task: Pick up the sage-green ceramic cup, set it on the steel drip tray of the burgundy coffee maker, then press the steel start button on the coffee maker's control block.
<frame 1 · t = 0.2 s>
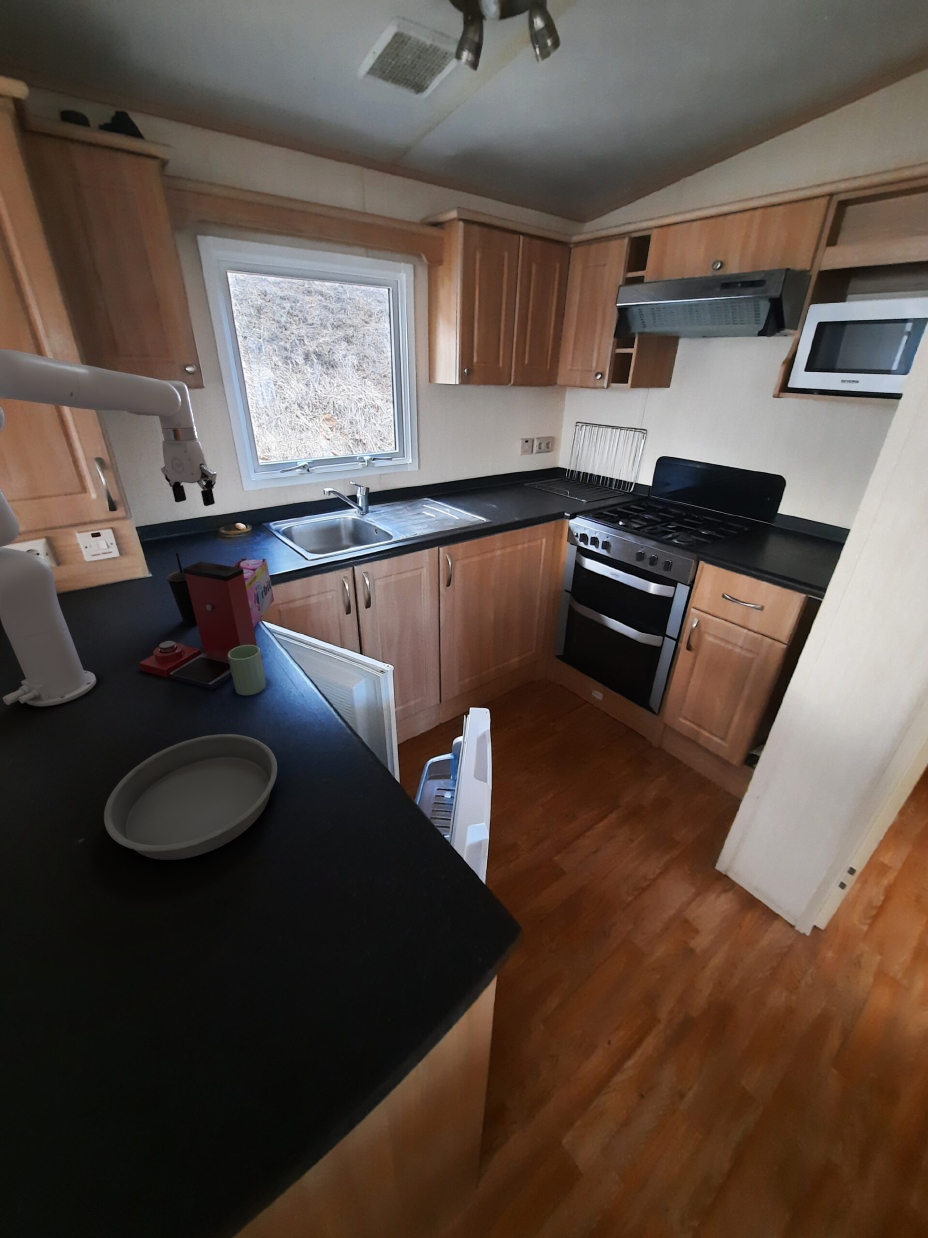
hand: (195, 503, 134), 31 cm above the countertop, tool pointing down, fingers open, 9 cm apart
gum box: (249, 617, 144), on the countertop
drinking cup: (193, 622, 141), on the countertop
button block: (172, 663, 121), on the countertop
coffee maker: (215, 668, 119), on the countertop
cake pan: (201, 805, 82), on the countertop
cup: (251, 687, 112), on the countertop
start button: (167, 647, 119), point 5 cm above the countertop, slide at 0.2 cm
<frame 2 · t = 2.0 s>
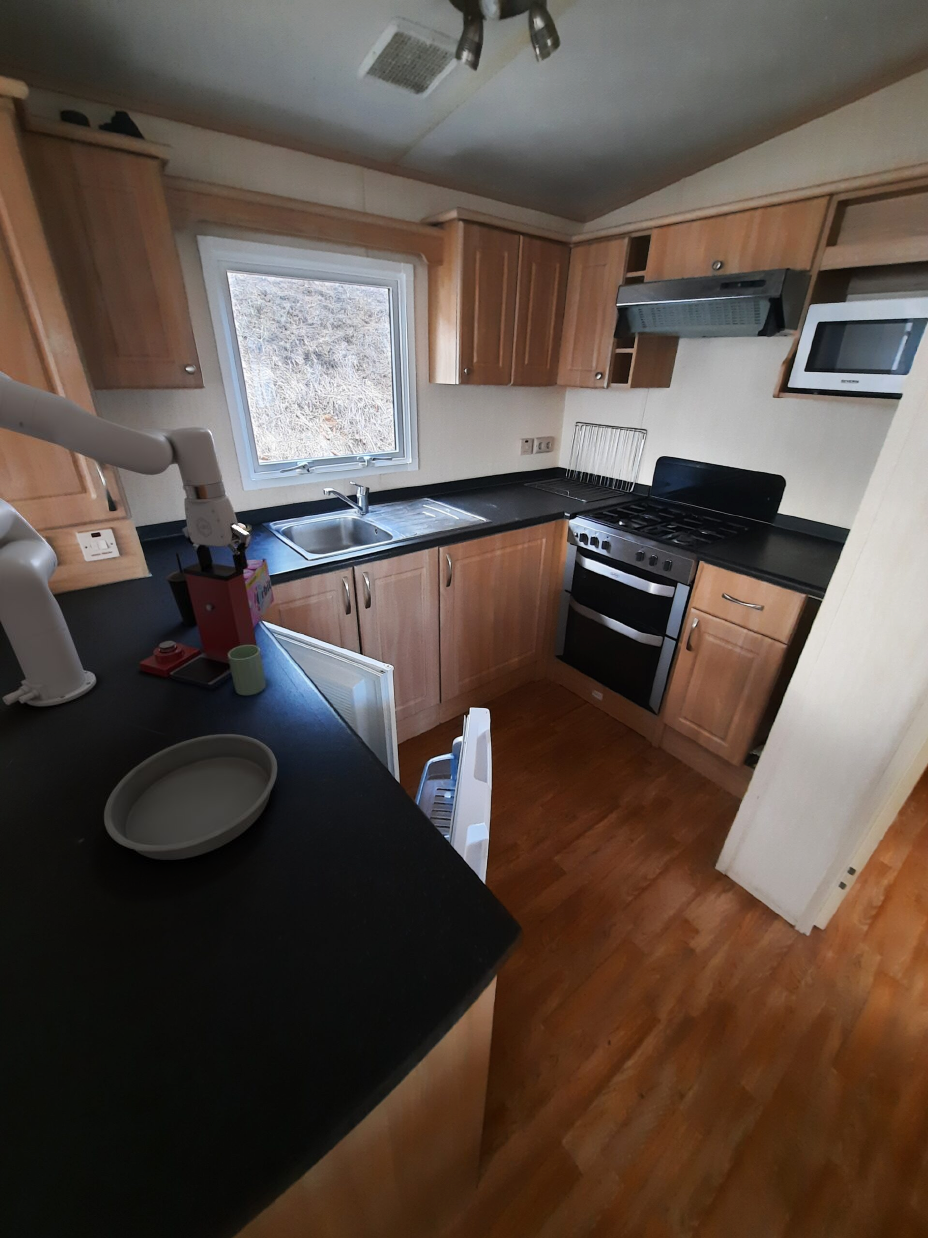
hand: (224, 567, 113), 23 cm above the countertop, tool pointing down, fingers open, 9 cm apart
nothing on the countertop moved.
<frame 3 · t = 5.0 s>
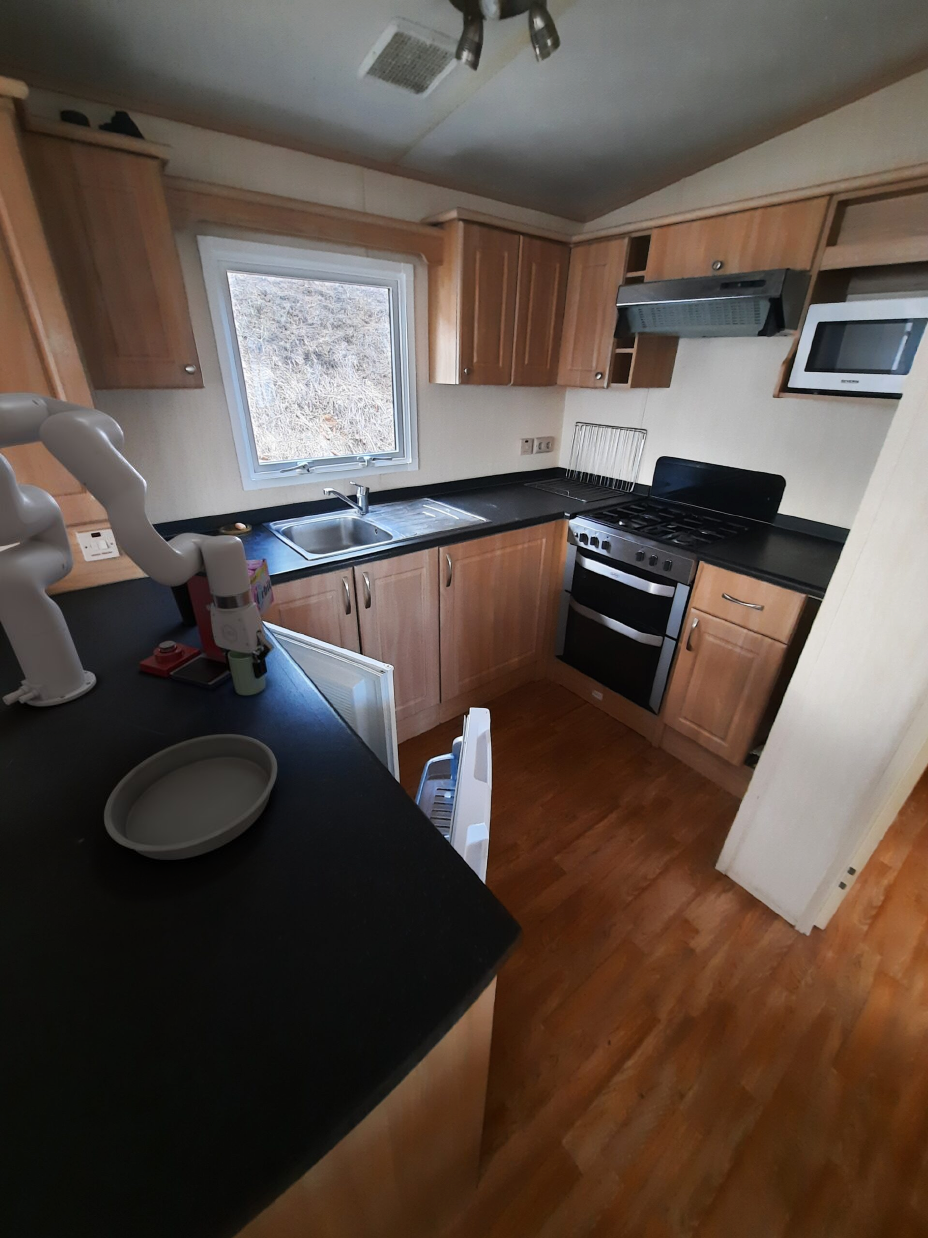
hand: (247, 671, 111), 4 cm above the countertop, tool pointing down, fingers closed on cup, 6 cm apart
cup: (251, 687, 112), on the countertop, touching gripper
everything else where it was.
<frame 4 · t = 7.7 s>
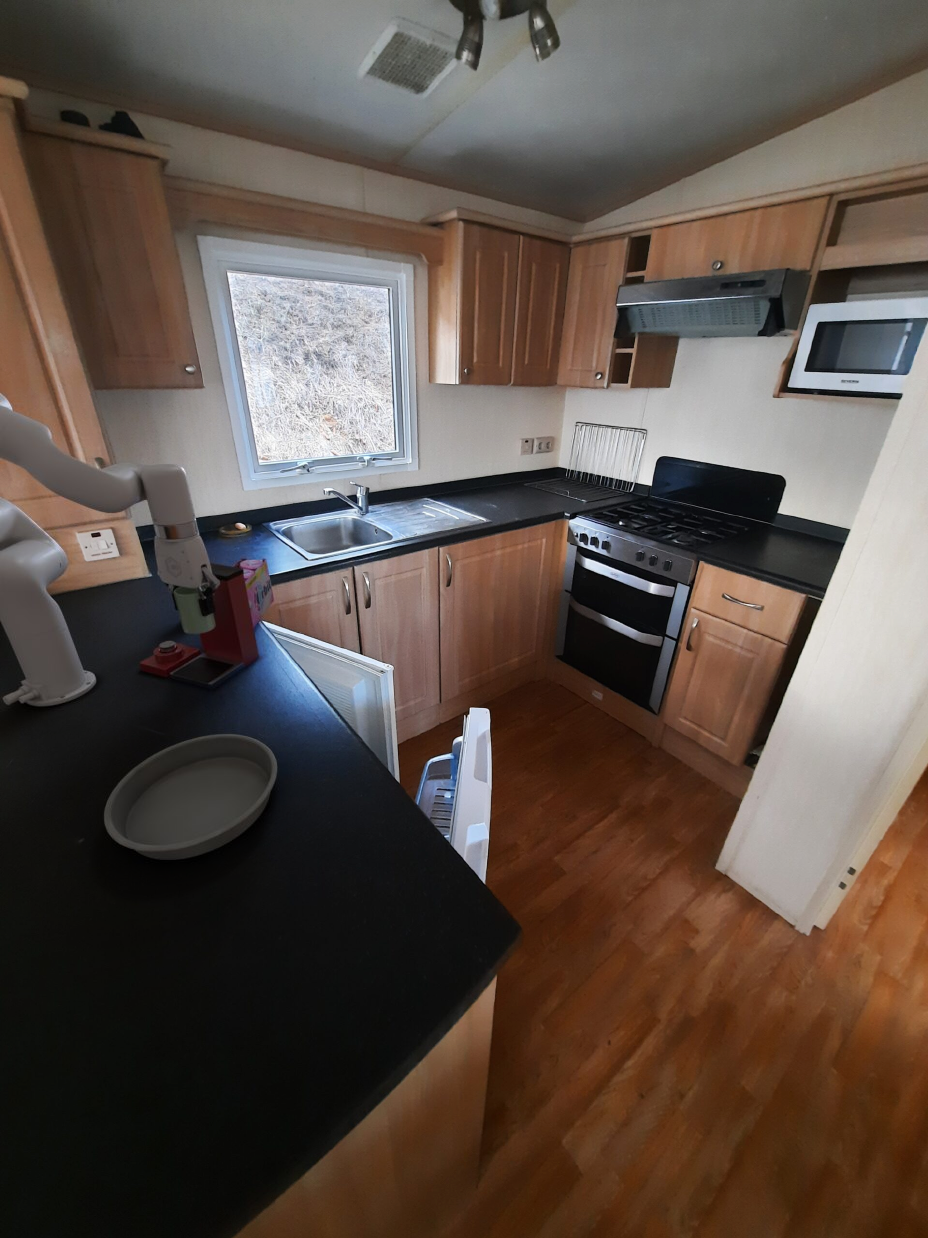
hand: (195, 610, 108), 17 cm above the countertop, tool pointing down, fingers closed on cup, 6 cm apart
cup: (199, 627, 110), point 13 cm above the countertop, touching gripper
everything else where it was.
when the fingers open (6 cm above the countertop, at t = 10.9 s): cup stays where it is, resting on coffee maker.
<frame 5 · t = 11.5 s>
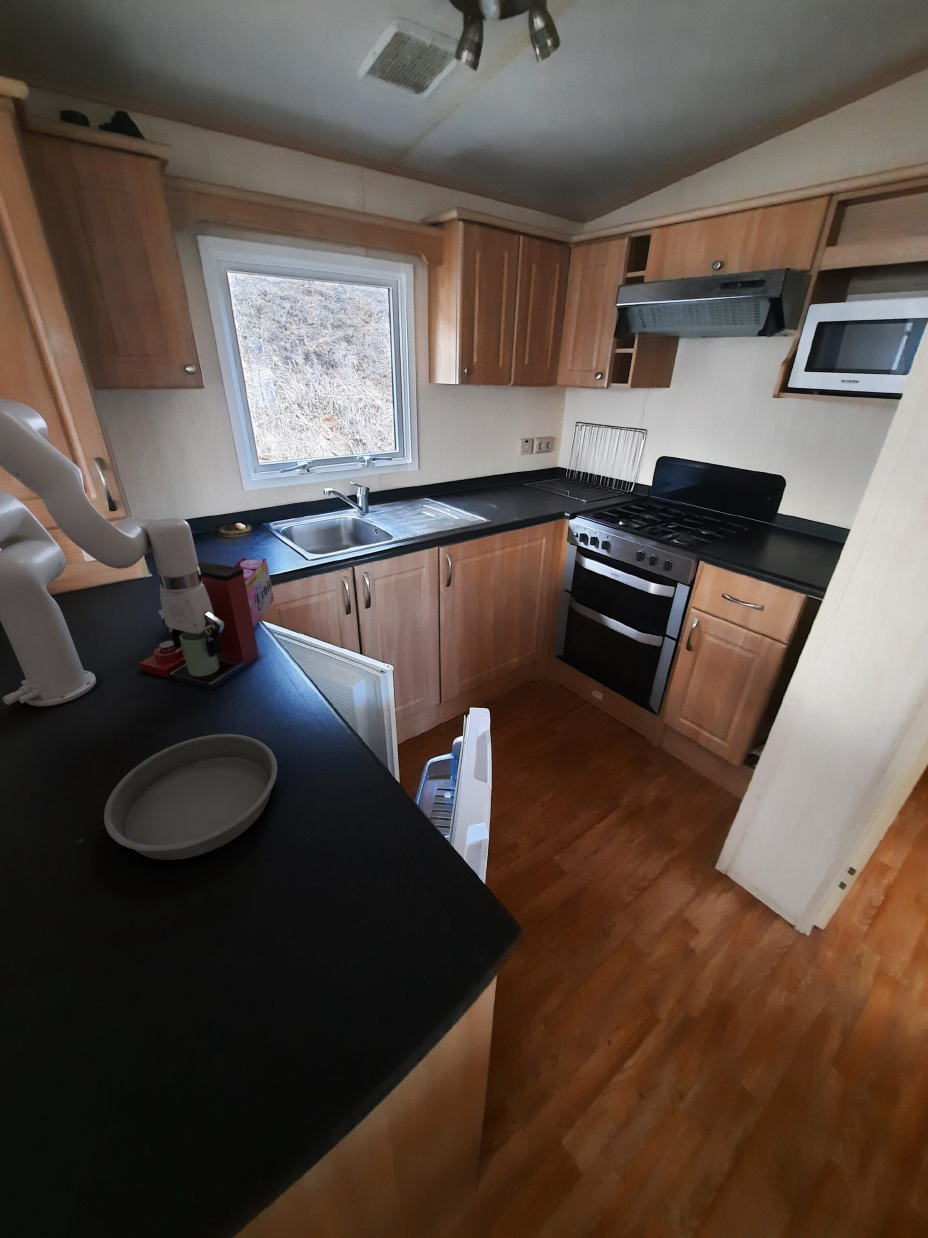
hand: (198, 649, 113), 7 cm above the countertop, tool pointing down, fingers open, 9 cm apart
cup: (204, 668, 116), point 2 cm above the countertop, touching coffee maker
everything else where it was.
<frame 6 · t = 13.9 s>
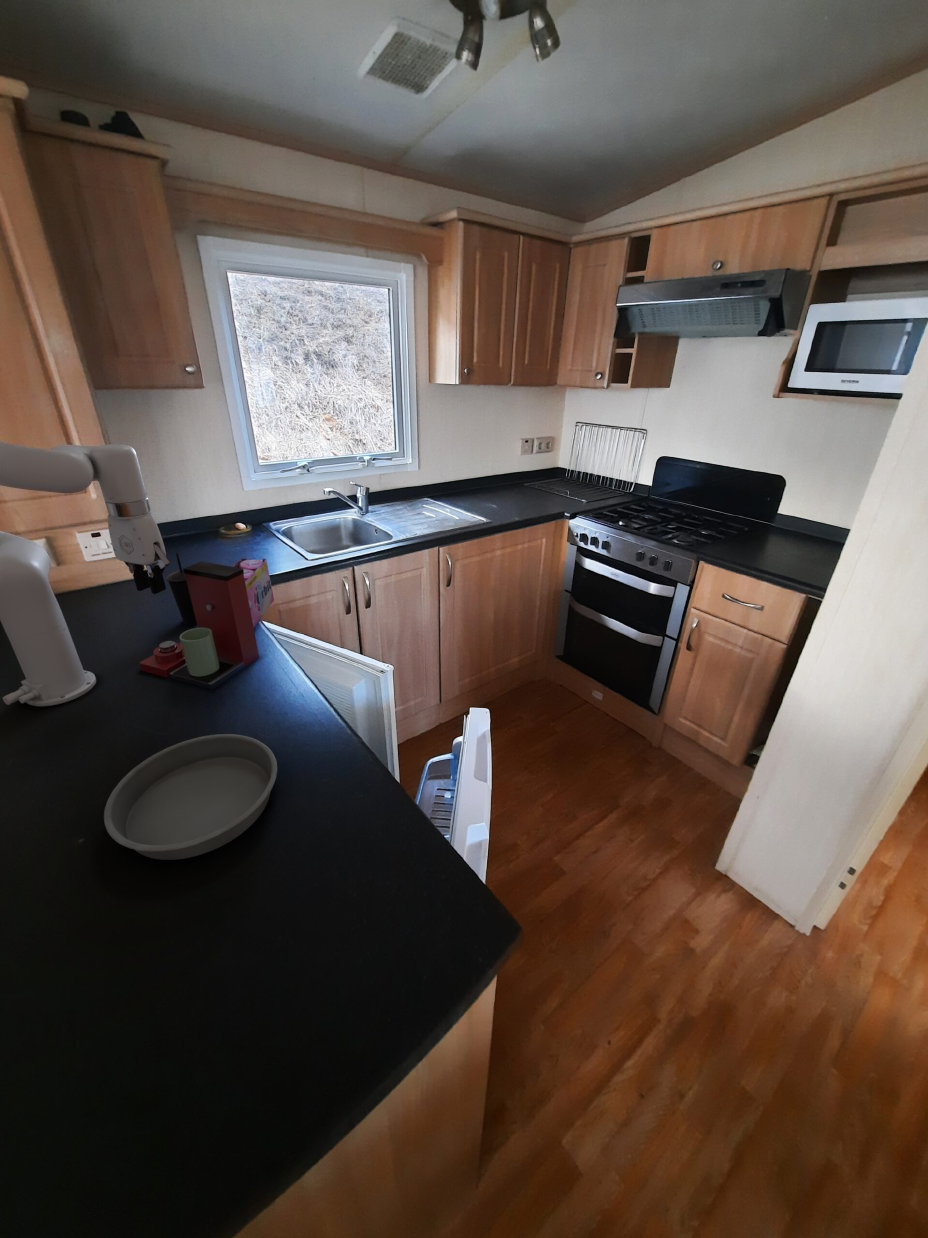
hand: (151, 589, 112), 19 cm above the countertop, tool pointing down, fingers open, 3 cm apart
nothing on the countertop moved.
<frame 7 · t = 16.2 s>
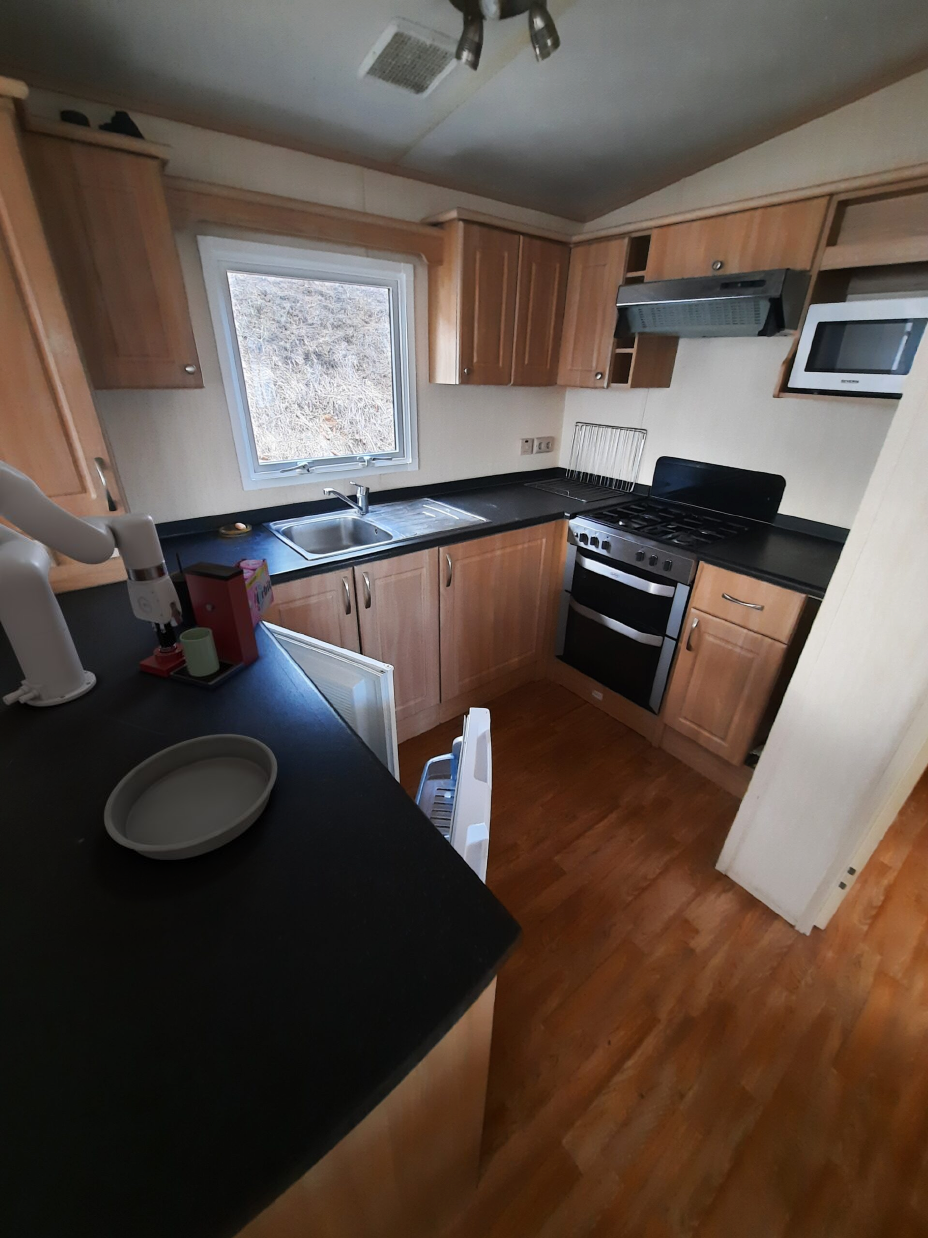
hand: (168, 644, 118), 5 cm above the countertop, tool pointing down, fingers closed
start button: (168, 648, 119), point 4 cm above the countertop, slide at 0.0 cm, touching gripper
everything else where it was.
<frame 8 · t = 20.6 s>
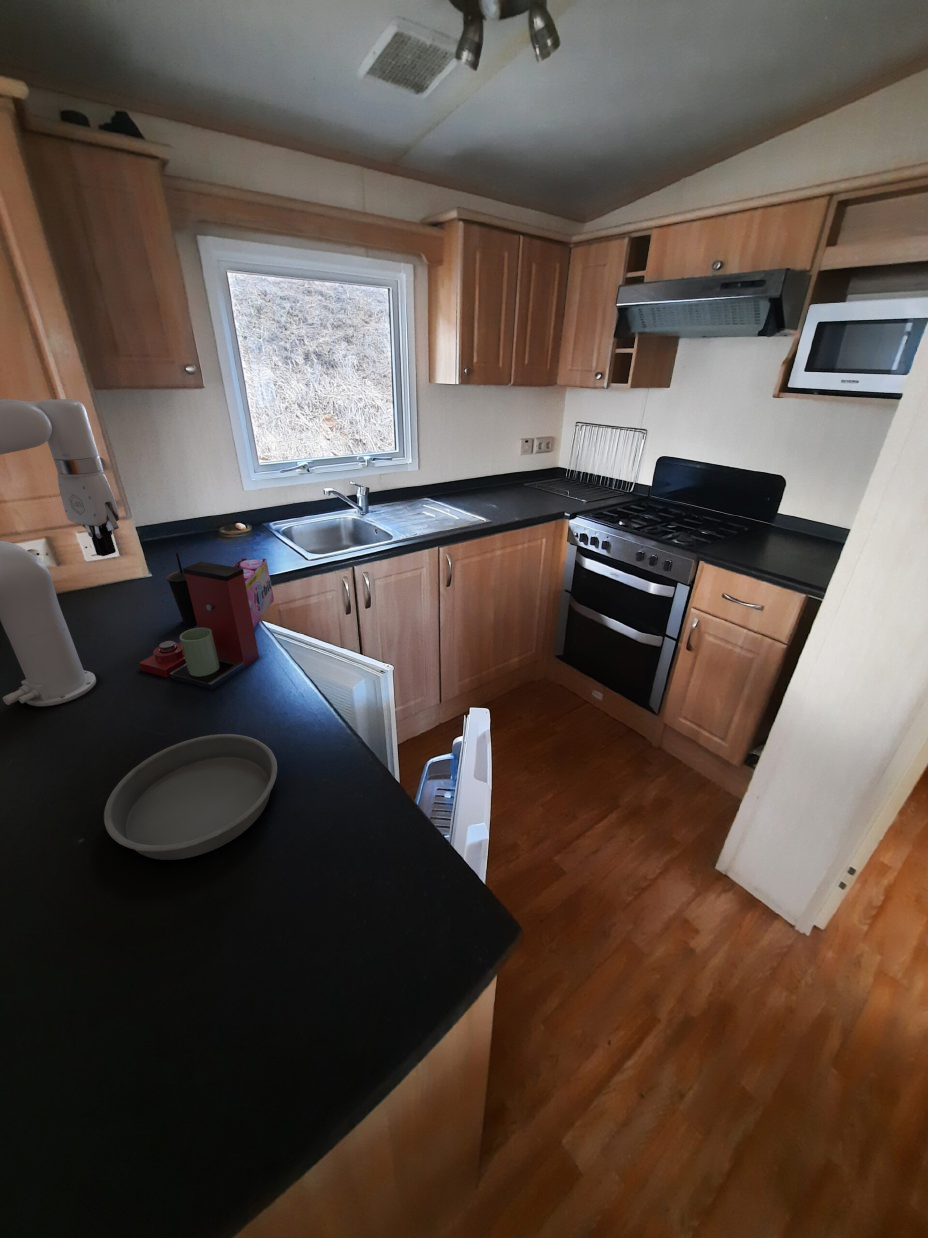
hand: (106, 553, 109), 27 cm above the countertop, tool pointing down, fingers closed
start button: (167, 647, 119), point 5 cm above the countertop, slide at 0.2 cm
everything else where it was.
at the end: cup 0.1 cm from the target spot on the coffee maker, point 1.7 cm above the coffee maker's base; cup tilted 0°; start button pushed in 1.0 cm at the most during the clip, back to 0.2 cm at the end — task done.
